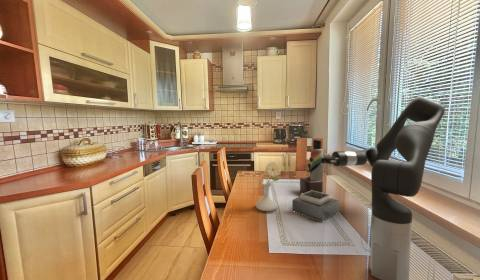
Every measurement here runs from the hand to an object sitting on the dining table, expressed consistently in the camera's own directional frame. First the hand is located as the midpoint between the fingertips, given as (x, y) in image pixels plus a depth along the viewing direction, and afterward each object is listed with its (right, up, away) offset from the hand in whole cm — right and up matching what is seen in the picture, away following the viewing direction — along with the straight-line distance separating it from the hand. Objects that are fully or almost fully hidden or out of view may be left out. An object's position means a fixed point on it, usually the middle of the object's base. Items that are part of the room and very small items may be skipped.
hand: (310, 159), depth 102 cm
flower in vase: (-20, -26, +6) cm, 34 cm away
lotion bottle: (+3, -10, +1) cm, 11 cm away
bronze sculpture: (+10, -24, +31) cm, 41 cm away
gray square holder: (+3, -26, +2) cm, 27 cm away
